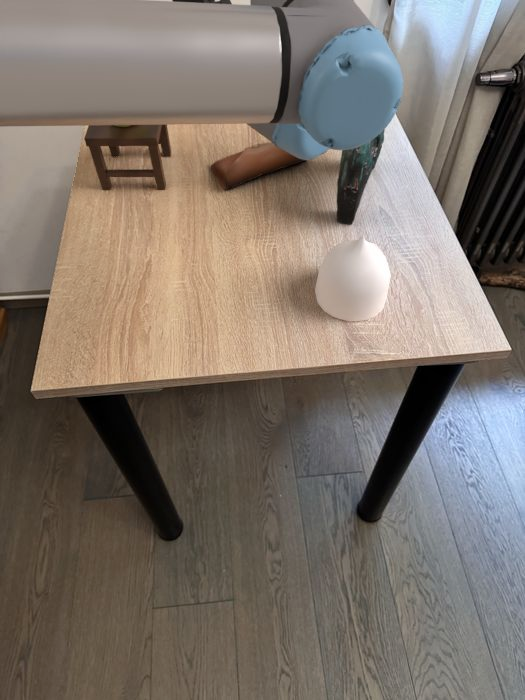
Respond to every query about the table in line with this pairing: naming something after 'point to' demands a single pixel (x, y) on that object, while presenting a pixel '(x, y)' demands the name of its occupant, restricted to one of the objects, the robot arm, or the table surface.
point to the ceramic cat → (355, 177)
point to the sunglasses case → (251, 164)
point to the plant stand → (128, 137)
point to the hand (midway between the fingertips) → (131, 8)
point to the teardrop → (353, 281)
